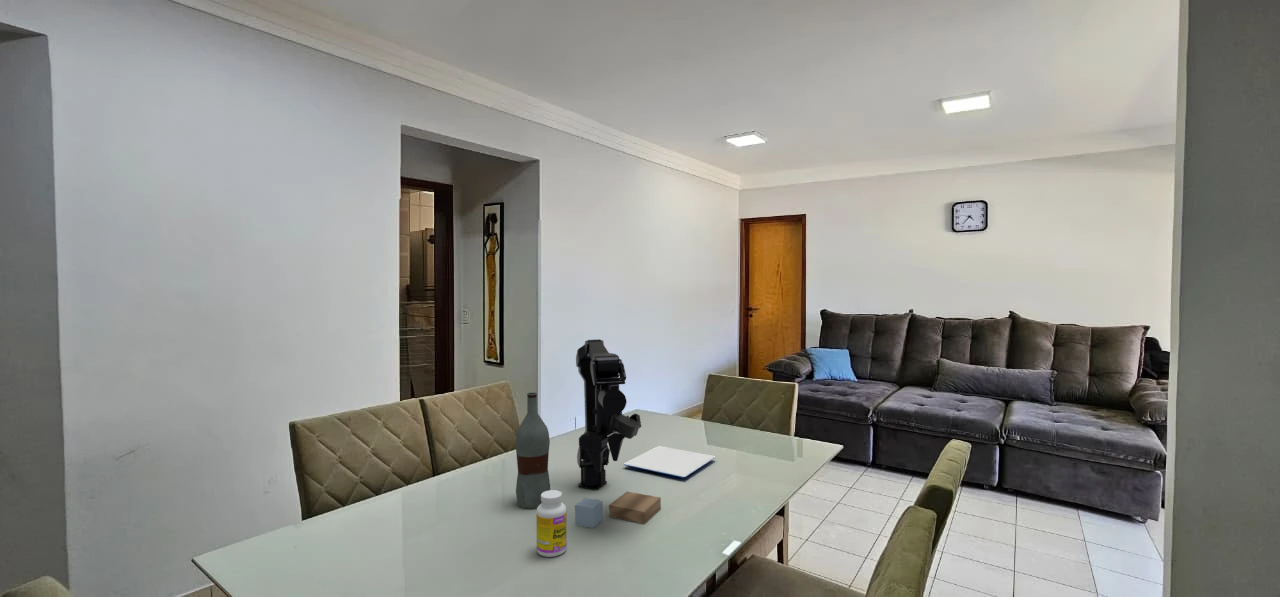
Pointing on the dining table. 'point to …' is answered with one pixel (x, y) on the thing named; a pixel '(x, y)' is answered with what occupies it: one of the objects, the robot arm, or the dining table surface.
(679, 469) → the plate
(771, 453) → the dining table surface
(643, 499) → the base
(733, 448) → the dining table surface
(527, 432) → the grey bottle
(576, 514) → the cube
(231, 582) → the dining table surface
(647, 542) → the dining table surface
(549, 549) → the supplement bottle
